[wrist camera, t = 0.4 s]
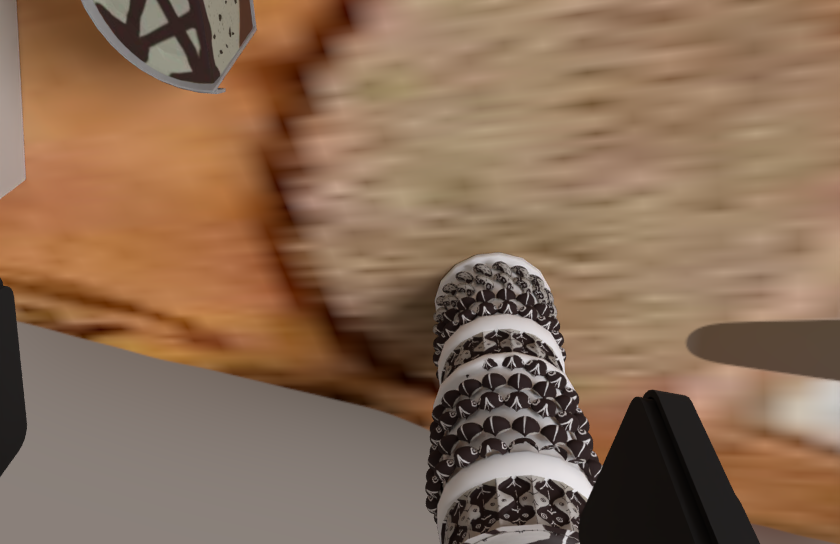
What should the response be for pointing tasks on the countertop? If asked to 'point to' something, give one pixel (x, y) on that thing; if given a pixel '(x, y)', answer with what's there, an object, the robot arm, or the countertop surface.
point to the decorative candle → (504, 411)
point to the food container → (177, 37)
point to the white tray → (10, 101)
